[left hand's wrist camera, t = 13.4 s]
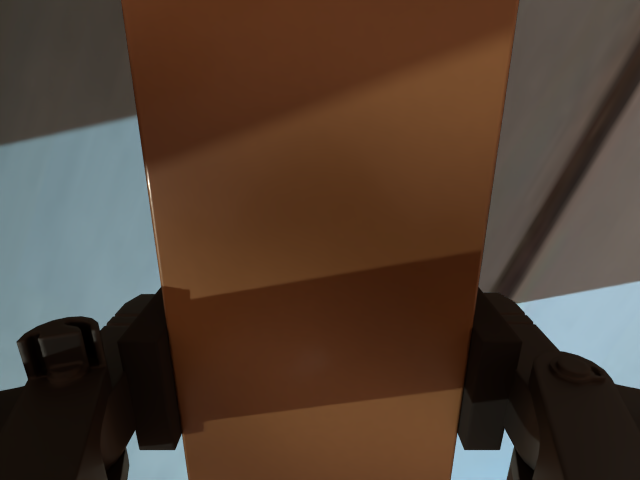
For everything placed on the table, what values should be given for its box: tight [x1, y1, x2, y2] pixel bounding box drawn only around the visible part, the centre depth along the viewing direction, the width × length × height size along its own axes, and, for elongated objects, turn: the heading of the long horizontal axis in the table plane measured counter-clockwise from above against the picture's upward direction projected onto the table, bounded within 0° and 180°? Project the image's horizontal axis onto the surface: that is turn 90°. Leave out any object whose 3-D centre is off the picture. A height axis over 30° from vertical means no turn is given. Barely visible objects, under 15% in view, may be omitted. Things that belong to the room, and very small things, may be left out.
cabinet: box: [121, 0, 519, 480], centre depth 12 cm, size 18×6×10 cm, turn 0°
